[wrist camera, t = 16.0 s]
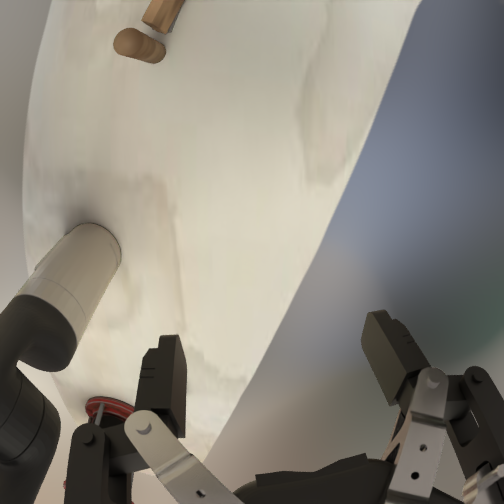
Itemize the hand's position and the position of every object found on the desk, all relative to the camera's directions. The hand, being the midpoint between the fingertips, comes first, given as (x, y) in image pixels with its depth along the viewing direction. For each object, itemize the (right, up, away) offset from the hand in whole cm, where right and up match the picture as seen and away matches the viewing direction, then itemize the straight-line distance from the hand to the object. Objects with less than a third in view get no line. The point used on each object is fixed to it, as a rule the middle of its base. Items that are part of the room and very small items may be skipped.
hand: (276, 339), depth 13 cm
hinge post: (-12, +27, +17) cm, 35 cm away
